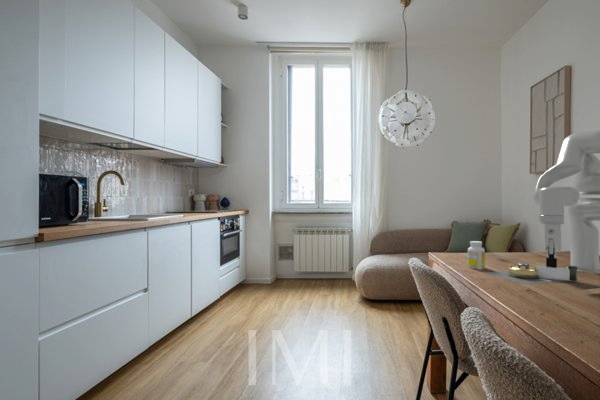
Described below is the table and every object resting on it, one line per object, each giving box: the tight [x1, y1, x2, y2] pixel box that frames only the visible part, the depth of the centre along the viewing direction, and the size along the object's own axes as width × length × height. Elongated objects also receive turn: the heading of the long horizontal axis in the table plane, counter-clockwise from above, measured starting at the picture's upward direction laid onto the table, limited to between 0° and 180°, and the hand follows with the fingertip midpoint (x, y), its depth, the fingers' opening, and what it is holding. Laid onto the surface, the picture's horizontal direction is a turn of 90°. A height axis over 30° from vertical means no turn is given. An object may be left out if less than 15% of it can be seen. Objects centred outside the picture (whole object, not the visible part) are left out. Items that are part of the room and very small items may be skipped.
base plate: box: [482, 270, 570, 285], centre depth 135 cm, size 20×20×2 cm
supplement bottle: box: [467, 240, 486, 270], centre depth 152 cm, size 7×7×13 cm
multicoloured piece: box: [507, 262, 578, 282], centre depth 132 cm, size 21×10×5 cm, turn 56°
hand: (551, 268), depth 132 cm, fingers closed
